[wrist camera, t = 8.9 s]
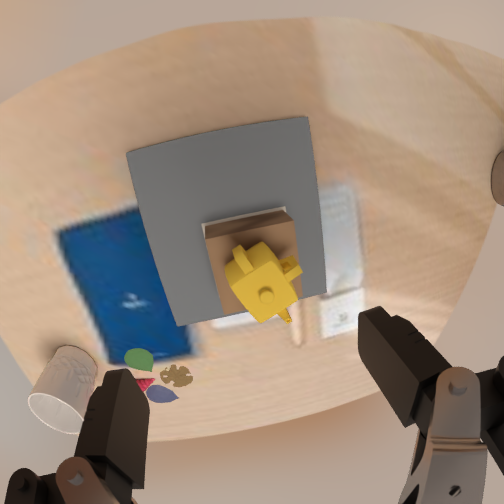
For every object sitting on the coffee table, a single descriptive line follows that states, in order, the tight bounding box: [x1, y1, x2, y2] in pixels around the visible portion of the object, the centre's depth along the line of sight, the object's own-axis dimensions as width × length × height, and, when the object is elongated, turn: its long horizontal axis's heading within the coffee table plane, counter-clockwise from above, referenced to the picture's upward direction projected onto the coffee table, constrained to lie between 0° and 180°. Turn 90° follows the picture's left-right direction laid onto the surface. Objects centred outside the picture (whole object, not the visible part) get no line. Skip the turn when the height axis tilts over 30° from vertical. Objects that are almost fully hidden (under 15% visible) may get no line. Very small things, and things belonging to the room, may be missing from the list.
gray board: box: [126, 117, 327, 326], centre depth 31 cm, size 18×20×1 cm
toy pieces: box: [124, 348, 193, 403], centre depth 36 cm, size 12×11×4 cm
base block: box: [205, 210, 303, 315], centre depth 30 cm, size 8×8×4 cm
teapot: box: [224, 241, 303, 324], centre depth 26 cm, size 8×6×5 cm
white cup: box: [28, 345, 97, 434], centre depth 30 cm, size 8×8×10 cm
